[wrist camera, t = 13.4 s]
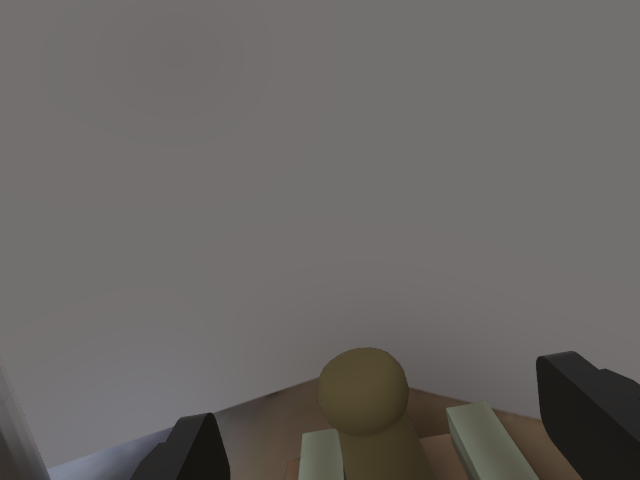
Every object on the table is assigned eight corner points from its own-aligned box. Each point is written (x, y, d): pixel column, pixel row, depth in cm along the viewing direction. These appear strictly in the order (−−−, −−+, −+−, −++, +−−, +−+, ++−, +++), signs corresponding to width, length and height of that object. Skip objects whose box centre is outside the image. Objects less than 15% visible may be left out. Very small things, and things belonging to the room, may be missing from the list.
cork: (345, 485, 26) (299, 352, 24) (425, 457, 27) (388, 323, 24) (365, 579, 21) (307, 416, 18) (467, 541, 21) (425, 376, 18)
